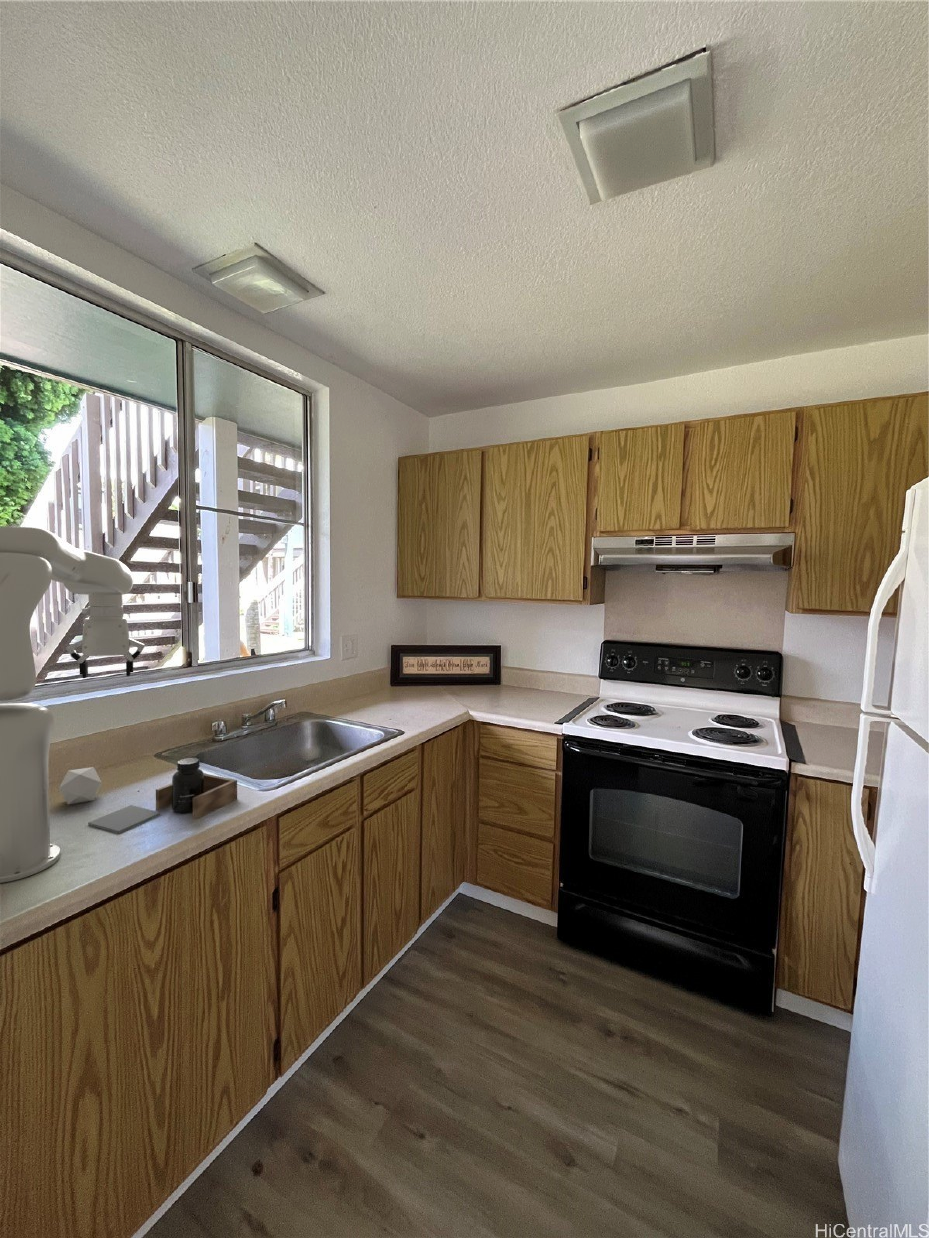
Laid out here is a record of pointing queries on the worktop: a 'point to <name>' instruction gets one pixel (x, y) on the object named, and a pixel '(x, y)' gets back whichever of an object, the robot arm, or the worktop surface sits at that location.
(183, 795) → the supplement bottle
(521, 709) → the worktop surface
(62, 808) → the worktop surface
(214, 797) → the cubby
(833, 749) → the worktop surface
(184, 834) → the worktop surface
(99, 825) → the pad
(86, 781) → the die
